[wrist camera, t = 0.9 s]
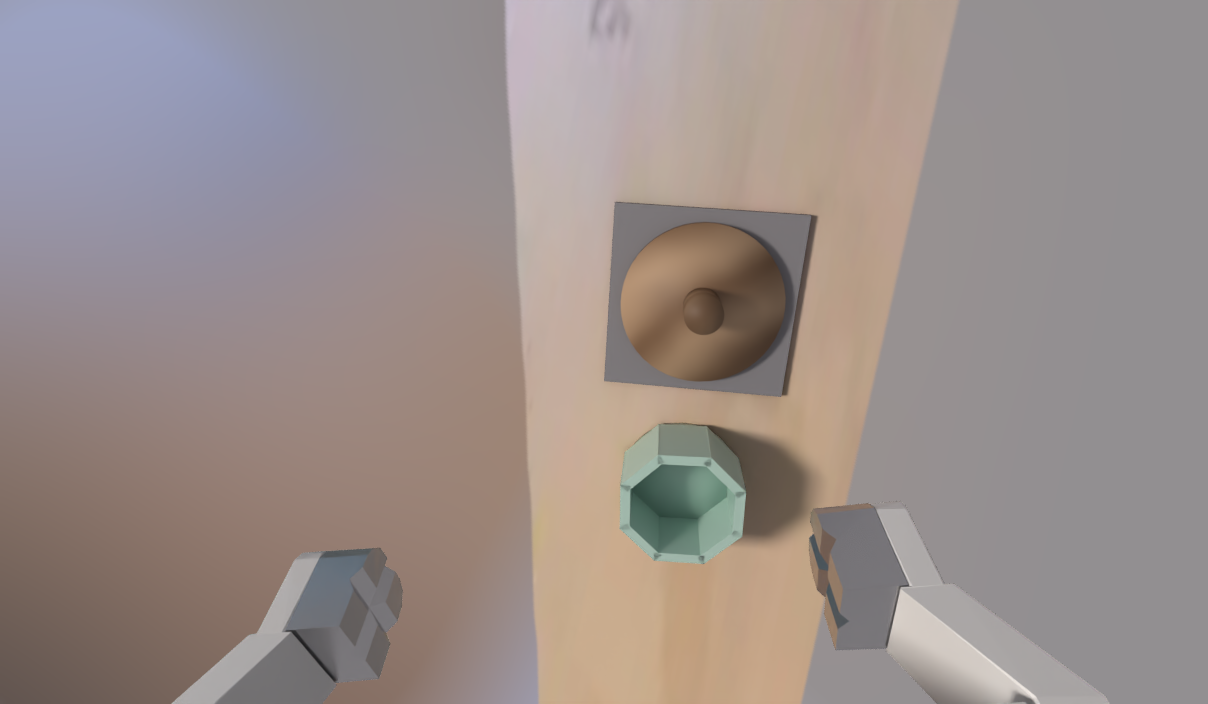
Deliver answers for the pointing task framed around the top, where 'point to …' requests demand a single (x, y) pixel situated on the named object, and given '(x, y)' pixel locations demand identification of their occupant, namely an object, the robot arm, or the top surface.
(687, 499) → the ceramic bowl
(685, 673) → the top surface
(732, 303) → the walnut lid
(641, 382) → the rubber mat
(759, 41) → the top surface
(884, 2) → the top surface
